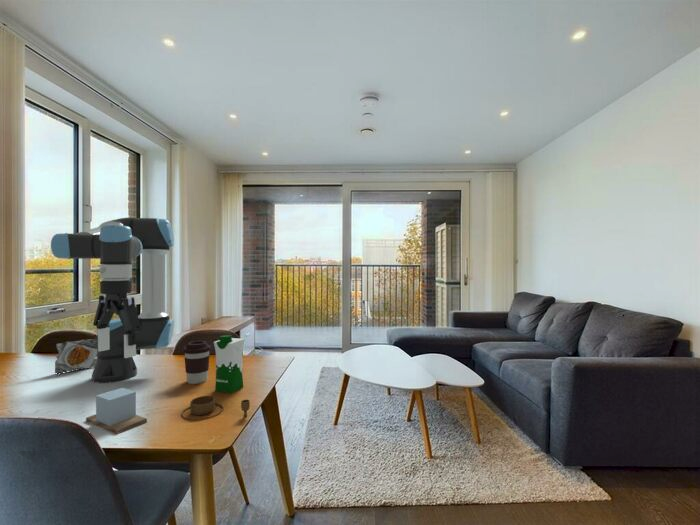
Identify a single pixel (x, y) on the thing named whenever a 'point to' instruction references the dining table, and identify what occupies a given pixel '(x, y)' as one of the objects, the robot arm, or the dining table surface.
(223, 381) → the milk carton
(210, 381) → the dining table surface
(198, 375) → the coffee cup
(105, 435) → the dining table surface
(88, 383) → the dining table surface
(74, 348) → the meal
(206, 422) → the dining table surface
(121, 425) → the board
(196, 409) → the place setting
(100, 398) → the cube
